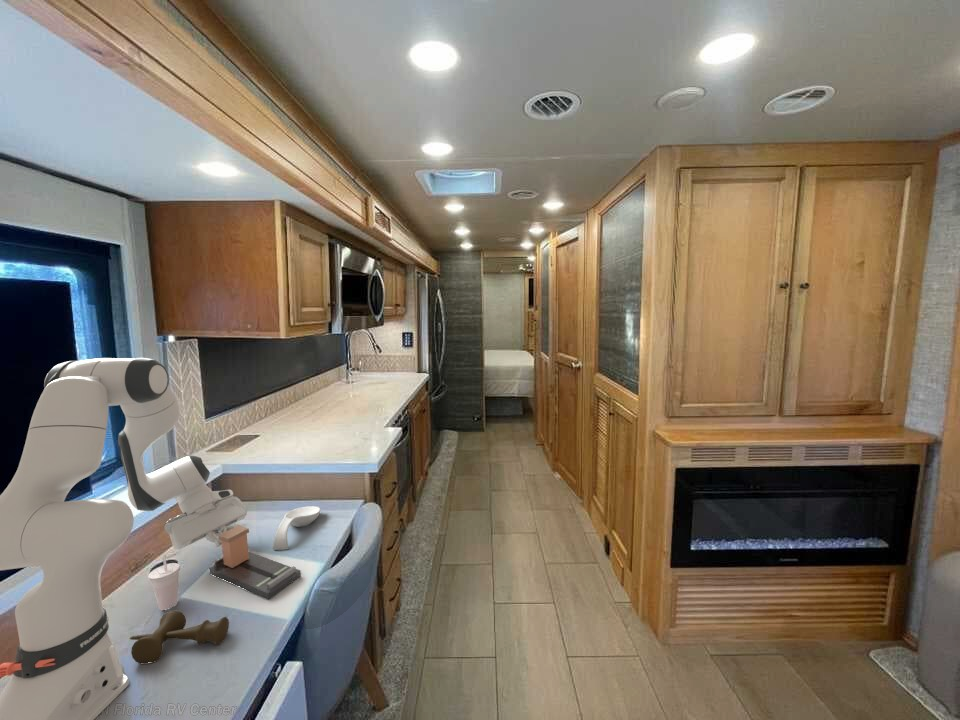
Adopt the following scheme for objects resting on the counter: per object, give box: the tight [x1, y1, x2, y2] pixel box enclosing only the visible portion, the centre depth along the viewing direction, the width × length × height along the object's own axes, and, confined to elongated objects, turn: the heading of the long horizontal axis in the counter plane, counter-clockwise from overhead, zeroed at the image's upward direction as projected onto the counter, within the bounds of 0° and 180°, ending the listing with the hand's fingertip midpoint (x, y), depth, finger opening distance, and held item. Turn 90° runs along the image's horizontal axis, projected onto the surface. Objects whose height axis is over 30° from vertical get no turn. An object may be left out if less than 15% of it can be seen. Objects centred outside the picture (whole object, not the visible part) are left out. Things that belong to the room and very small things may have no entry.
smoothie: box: [148, 553, 181, 611], centre depth 101 cm, size 6×6×14 cm
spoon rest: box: [272, 505, 321, 551], centre depth 136 cm, size 24×12×7 cm, turn 3°
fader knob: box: [217, 525, 250, 568], centre depth 115 cm, size 5×6×9 cm
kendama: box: [129, 609, 230, 665], centre depth 88 cm, size 6×10×20 cm
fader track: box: [208, 551, 302, 601], centre depth 112 cm, size 26×10×4 cm, turn 64°
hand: (222, 543), depth 118 cm, fingers closed
